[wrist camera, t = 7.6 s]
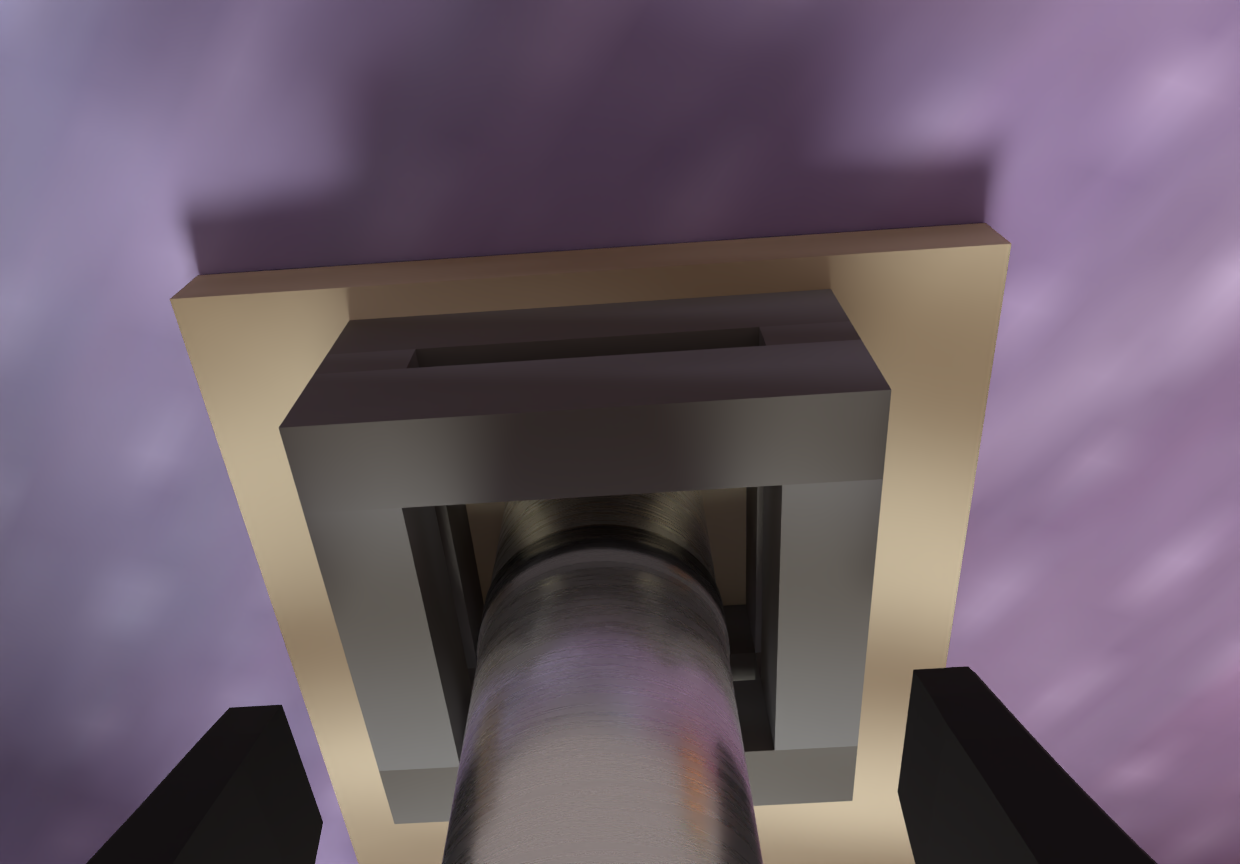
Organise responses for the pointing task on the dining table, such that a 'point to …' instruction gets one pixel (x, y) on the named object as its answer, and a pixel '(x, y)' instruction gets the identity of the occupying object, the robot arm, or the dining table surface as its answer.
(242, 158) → the dining table surface
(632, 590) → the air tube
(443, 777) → the wooden board with holder
